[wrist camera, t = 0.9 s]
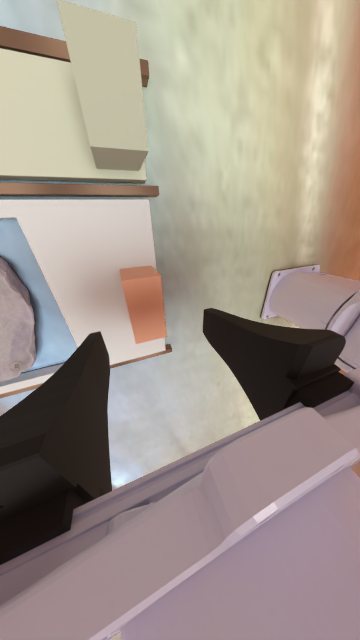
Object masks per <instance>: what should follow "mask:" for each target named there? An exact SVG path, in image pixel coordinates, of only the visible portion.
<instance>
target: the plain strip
mask: <svg viewBox="0 0 360 640" xmlns="http://www.w3.org/2000/svg"><path fill="white" fill-rule="evenodd" d="M57 4H58V9H59V13H60V17H61V22H62V26H63V30H64V35H65V39H66V43H67V48H68V52H69V56H70V61H71V63H70V62H65V61H60V60H55V59H50V58H45V57H40V56H36V55H31V54H26V53H21V52H16V51H11V50H6V49H1V48H0V180H33V181H72V182H111V183H145V181H146V180H147V178H146V169H145V158H146V156H147V153H148V151H149V150H148V140H147V130H146V120H145V110H144V100H143V90H142V80H141V70H140V60H139V50H138V40H137V30H136V22H134V21H130V20H127V19H124V18H120V17H117V16H113V15H110V14H107V13H103V12H100V11H96V10H93V9H90V8H86V7H83V6H79V5H76V4H73V3H69V2H66V1H62V0H57Z"/></svg>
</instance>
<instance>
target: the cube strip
mask: <svg viewBox="0 0 360 640" xmlns="http://www.w3.org/2000/svg"><path fill="white" fill-rule="evenodd" d="M12 218H17V220H18V222H19V224H20V226H21V229H22V231H23V233H24V235H25V237H26V239H27V241H28V243H29V245H30V247H31V250H32V252H33V254H34V256H35V258H36V260H37V262H38V264H39V266H40V269H41V271H42V273H43V275H44V277H45V279H46V281H47V283H48V285H49V287H50V290H51V292H52V294H53V296H54V298H55V300H56V302H57V304H58V306H59V308H60V311H61V313H62V315H63V317H64V319H65V321H66V323H67V325H68V327H69V329H70V332H71V334H72V336H73V338H74V340H75V342H76V344H77V346H78V347H79V346H80V345H81V344H82V342H83V341H84V340H85V339H86V337H87V336H88V335H89V334H90V333H94V332H99V331H101V334H102V337H103V340H104V342H105V345H106V348H107V351H108V354H109V360H110V365H113V364H116V363H120V362H124V361H128V360H131V359H135V358H139V357H143V356H147V355H150V354H154V353H158V352H162V351H165V350H166V349H165V340H164V337H167V332H166V322H165V312H164V302H163V291H162V281H161V275H160V274H159V273H158V272H157V268H156V259H155V250H154V241H153V232H152V223H151V214H150V205H149V199H131V200H0V219H12ZM63 364H64V363H63ZM63 364H59V365H55V366H51V367H46V368H42V369H38V370H34V371H30V372H26V373H22V374H21V375H20V376H18V377H16V378H13V379H9V380H6V381H1V382H0V394H3V393H7V392H11V391H15V390H19V389H22V388H26V387H30V386H34V385H37V384H41V383H44V382H45V381H46V380H48V379H49V378H50V377H51V376H52V375H53V374H54V373H55V372H56V371H57V370H58V369H59V368H60V367H61V366H62V365H63Z"/></svg>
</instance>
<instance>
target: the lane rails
mask: <svg viewBox="0 0 360 640" xmlns="http://www.w3.org/2000/svg"><path fill="white" fill-rule="evenodd" d="M0 48H1V49H6V50H11V51H16V52H21V53H26V54H31V55H36V56H40V57H45V58H50V59H55V60H60V61H65V62H70V63H71V61H70V56H69V52H68V48H67V43H66V41H62V40H57V39H53V38H49V37H45V36H40V35H36V34H32V33H27V32H23V31H19V30H15V29H10V28H6V27H2V26H0ZM139 60H140V70H141V80H142V86H144V87H147V83H148V79H149V68H148V61H147V60H143V59H139ZM158 195H159V188H158V186H137V185H91V184H45V183H0V196H79V197H157V196H158ZM165 349H166V350H165V351H162V352H158V353H154V354H150V355H147V356H143V357H139V358H135V359H131V360H128V361H124V362H120V363H116V364H113V365H110V368H114V367H117V366H121V365H125V364H128V363H132V362H136V361H140V360H143V359H147V358H151V357H154V356H158V355H162V354H165V353H169V352H172V348H171V346H170V344H169V345H165ZM42 384H43V383H41V384H37V385H34V386H30V387H26V388H22V389H19V390H15V391H11V392H7V393H3V394H0V398H3V397H7V396H10V395H14V394H18V393H21V392H25V391H29V390H32V389H36V388H38V387H40V386H41V385H42Z"/></svg>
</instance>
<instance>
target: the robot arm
mask: <svg viewBox="0 0 360 640" xmlns="http://www.w3.org/2000/svg"><path fill="white" fill-rule="evenodd" d="M319 269H320V265H312V266H305V267H299V268H293V269H286V270H280V271H275V272H273V273H272V276H271V280H270V284H269V288H268V292H267V295H266V299H265V303H264V307H263V311H262V315H261V319H263V320H264V319H268V318H272V317H276V316H280V317H282V318H283V319H285V320H287V321H289V322H291V323H293V324H295V325H296V326H298V327H300V328H290V327H282V326H275V325H269V324H264V323H260V322H255V321H251V320H248V319H244V318H241V317H238V316H235V315H232V314H229V313H226V312H223V311H220V310H217V309H213V308H209V309H204V318H203V333H204V335H205V337H206V338H207V340H208V342H209V343H210V344H211V345H212V347H213V348H214V349H215V350H216V352H217V353H218V354H219V355H220V356H221V358H222V359H223V360H224V361H225V363H226V364H227V365H228V366H229V368H230V369H231V371H232V372H233V374H234V375H235V377H236V378H237V380H238V382H239V383H240V385H241V387H242V388H243V390H244V391H245V393H246V395H247V397H248V399H249V400H250V402H251V404H252V406H253V408H254V409H255V411H256V413H257V415H258V417H259V419H260V421H259V422H257V423H255V424H253V425H251V426H248V427H246V428H244V429H242V430H240V431H238V432H236V433H234V434H232V435H229V436H227V437H225V438H223V439H221V440H219V441H217V442H215V443H213V444H210V445H208V446H206V447H204V448H202V449H200V450H198V451H196V452H194V453H191V454H189V455H187V456H185V457H183V458H181V459H179V460H177V461H175V462H172V463H170V464H168V465H166V466H164V467H162V468H160V469H158V470H156V471H153V472H151V473H149V474H147V475H145V476H143V477H141V478H139V479H137V480H134V481H132V482H130V483H128V484H126V485H124V486H122V487H120V488H118V489H115V490H113V491H112V484H111V472H110V457H109V440H108V415H107V404H108V390H109V377H110V360H109V354H108V351H107V348H106V345H105V342H104V340H103V337H102V334H101V331H99V332H94V333H90V334H89V335H88V336H87V337H86V339H85V340H84V341H83V342H82V344H81V345H80V346H79V347H78V348H77V350H76V351H75V352H74V353H73V354H72V355H71V357H70V358H69V359H68V360H67V361H66V362H65V363H64V364H63V365H62V366H61V367H60V368H59V369H58V370H57V371H56V372H55V373H54V374H53V375H52V376H51V377H50V378H49V379H48V380H46V381H45V382H44V383H43V384H42V385H41V386H40V387H38V388H37V389H36V390H35V391H33V392H32V393H31V394H30V395H28V396H27V397H26V398H25V399H23V400H22V401H21V402H19V403H18V404H17V405H15V406H14V407H13V408H11V409H10V410H8V411H7V412H6V413H4V414H3V415H1V416H0V640H109V639H111V638H112V637H113V636H115V635H116V634H118V633H119V632H121V640H360V478H359V477H358V476H357V475H356V474H355V473H354V472H353V471H352V470H351V469H350V468H351V467H352V466H353V465H355V464H356V463H358V462H359V461H360V281H358V280H354V279H349V278H345V277H340V276H336V275H331V274H327V273H322V272H319ZM301 328H302V329H301ZM334 363H336V365H337V366H336V365H335V364H334ZM340 368H341V369H342V370H343V371H345V372H346V373H347V374H346V375H342V374H341V373H339V372H338V371H340Z"/></svg>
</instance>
